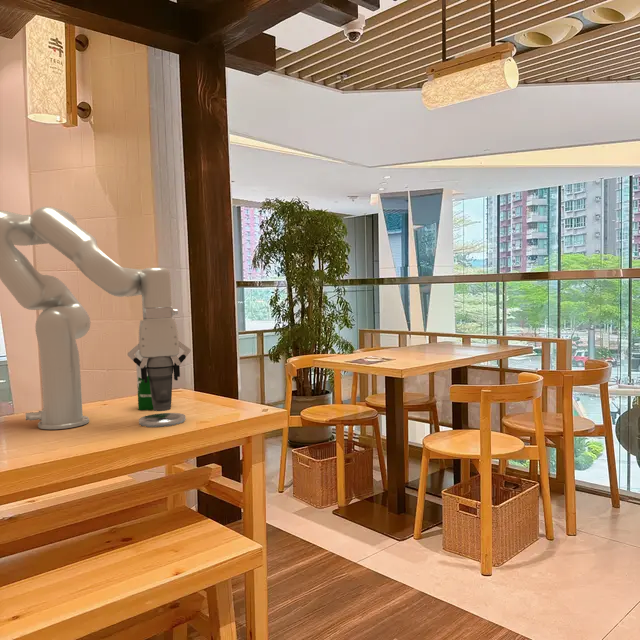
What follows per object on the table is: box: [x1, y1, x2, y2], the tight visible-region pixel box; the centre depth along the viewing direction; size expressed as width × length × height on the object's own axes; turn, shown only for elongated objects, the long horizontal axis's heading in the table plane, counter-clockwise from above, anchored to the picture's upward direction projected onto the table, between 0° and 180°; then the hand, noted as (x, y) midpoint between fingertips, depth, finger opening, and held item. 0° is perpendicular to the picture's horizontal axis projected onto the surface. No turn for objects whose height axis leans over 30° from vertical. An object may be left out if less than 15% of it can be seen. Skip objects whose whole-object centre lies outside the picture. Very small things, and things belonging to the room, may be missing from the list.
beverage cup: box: [146, 356, 174, 412], centre depth 159 cm, size 7×7×20 cm
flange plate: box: [138, 412, 187, 428], centre depth 159 cm, size 12×12×1 cm
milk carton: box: [134, 350, 154, 411], centre depth 179 cm, size 9×9×20 cm
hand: (160, 380), depth 158 cm, fingers closed on beverage cup, 7 cm apart
